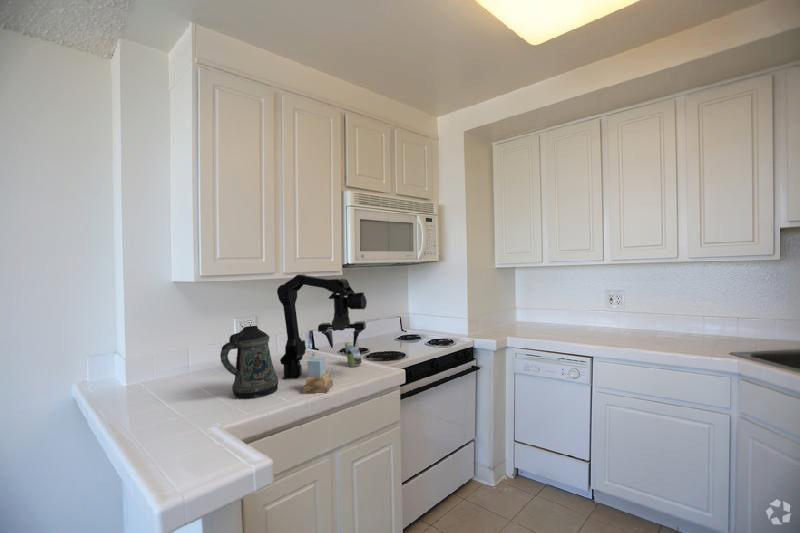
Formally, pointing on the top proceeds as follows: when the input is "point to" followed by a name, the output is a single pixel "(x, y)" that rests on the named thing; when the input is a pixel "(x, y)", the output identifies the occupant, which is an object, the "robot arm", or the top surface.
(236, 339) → the beer stein
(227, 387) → the top surface
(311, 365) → the slate block
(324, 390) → the bottom block
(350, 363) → the beverage can
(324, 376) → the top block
